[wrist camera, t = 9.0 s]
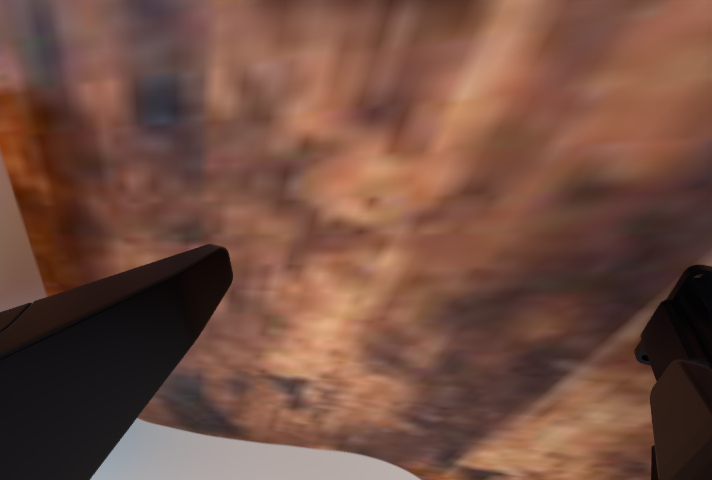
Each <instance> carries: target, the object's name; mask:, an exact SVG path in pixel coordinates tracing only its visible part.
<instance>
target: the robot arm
mask: <svg viewBox="0 0 712 480" xmlns="http://www.w3.org/2000/svg"><path fill="white" fill-rule="evenodd" d="M699 274H704V275H703V276H702V277H700V278H694V277H695V276H696V275H699ZM232 280H233V272H232V267H231V262H230V257H229V253H228V250H227V249H226V248H225V247H222V246H218V245H214V244H208V245H205V246H201V247H198V248H195V249H192V250H189V251H186V252H183V253H180V254H177V255H174V256H171V257H168V258H165V259H162V260H159V261H156V262H153V263H150V264H146V265H143V266H140V267H137V268H134V269H131V270H128V271H125V272H122V273H119V274H116V275H113V276H110V277H107V278H104V279H101V280H98V281H94V282H91V283H88V284H85V285H82V286H79V287H76V288H73V289H70V290H67V291H64V292H61V293H58V294H55V295H52V296H49V297H46V298H43V299H39V300H36V301H34V302H33V303H27V304H24V305H21V306H18V307H15V308H12V309H9V310H6V311H2V312H0V480H90V479H91V478H92V476H93V475H94V474H95V472H96V471H97V470H98V468H99V467H100V466H101V464H102V463H103V462H104V460H105V459H106V458H107V457H108V455H109V454H110V453H111V451H112V450H113V449H114V447H115V446H116V445H117V443H118V442H119V441H120V439H121V438H122V437H123V436H124V434H125V433H126V432H127V430H128V429H129V428H130V426H131V425H132V424H133V422H134V421H135V420H136V418H137V417H138V416H139V415H140V413H141V412H142V411H143V409H144V408H145V407H146V405H147V404H148V403H149V401H150V400H151V399H152V397H153V396H154V395H155V394H156V392H157V391H158V390H159V388H160V387H161V386H162V384H163V383H164V382H165V380H166V379H167V378H168V376H169V375H170V374H171V373H172V371H173V370H174V369H175V367H176V366H177V365H178V363H179V362H180V361H181V359H182V358H183V357H184V355H185V354H186V353H187V352H188V350H189V349H190V348H191V346H192V345H193V344H194V342H195V341H196V339H197V338H198V337H199V335H200V334H201V332H202V331H203V329H204V328H205V326H206V324H207V323H208V321H209V319H210V318H211V316H212V315H213V313H214V311H215V310H216V308H217V306H218V305H219V303H220V302H221V300H222V298H223V297H224V295H225V293H226V292H227V290H228V289H229V287H230V285H231V283H232ZM645 354H647V356H646V355H645ZM635 355H636V358H637V360H638V361H639V362H640V363H643V364H647V365H650V366H651V367H652V370H653V372H654V375H655V378H656V381H657V382H656V384H655V385H654V387H653V388H652V391H651V395H650V405H651V414H652V423H653V433H654V442H655V445H653V446H652V467H651V480H712V267H710V266H705V265H695V266H691V267H689V268H687V269H686V270H685V272H684V273H683V275H682V276H681V278H680V280H679V281H678V283H677V284H676V286H675V287H674V289H673V291H672V292H671V294H670V295H669V297H668V298H667V299H666V300H664V301H662V302H661V303H660V305H659V306H658V308H657V310H656V311H655V313H654V314H653V316H652V318H651V319H650V321H649V322H648V324H647V326H646V327H645V329H644V330H643V332H642V334H641V341H640V343H639V344H638V346H637V347H636V349H635Z"/></svg>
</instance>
